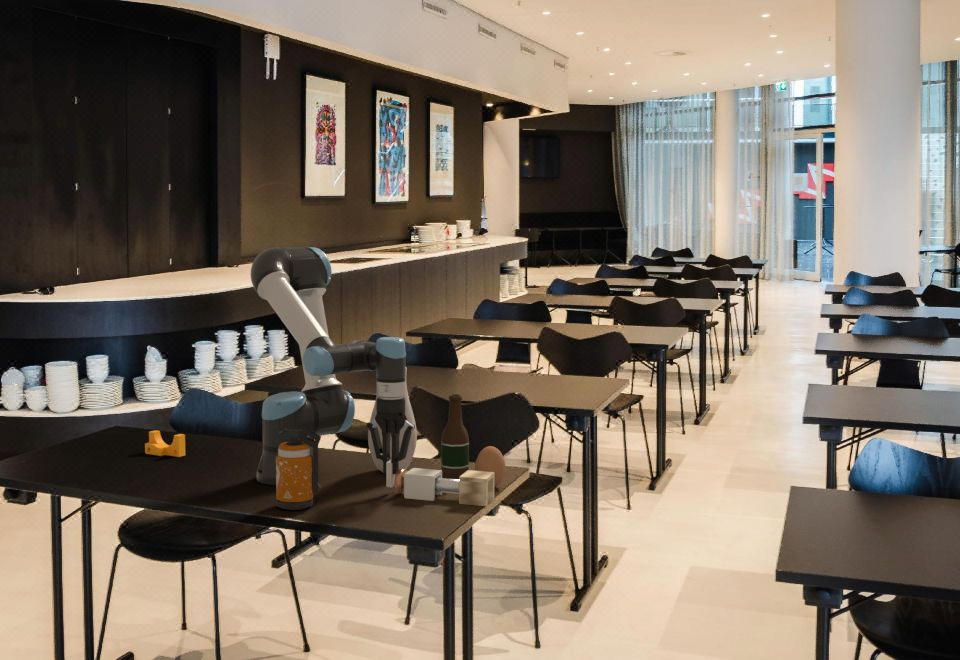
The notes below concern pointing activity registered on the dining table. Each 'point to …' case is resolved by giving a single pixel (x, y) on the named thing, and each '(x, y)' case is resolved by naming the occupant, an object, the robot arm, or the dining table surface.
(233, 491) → the dining table surface
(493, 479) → the socket
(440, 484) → the bolt
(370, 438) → the vase
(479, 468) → the egg
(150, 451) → the pipe clamp
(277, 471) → the canister
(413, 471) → the sleeve
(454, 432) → the beer bottle
